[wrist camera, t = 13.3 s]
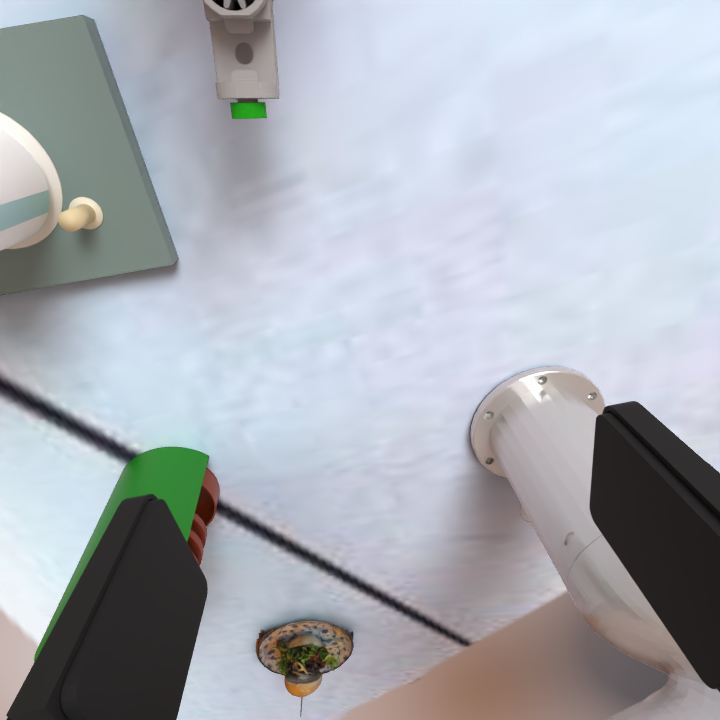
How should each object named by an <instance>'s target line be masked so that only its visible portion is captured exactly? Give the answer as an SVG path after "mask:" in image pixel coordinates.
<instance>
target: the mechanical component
mask: <svg viewBox="0 0 720 720" xmlns="http://www.w3.org/2000/svg"><path fill="white" fill-rule="evenodd" d="M203 1H204V8H205V15H206V19H207V20H208V21H209V22H210V30H211V37H212V44H213V52H214V59H215V66H216V73H217V81H218V83H216V89H217V96H218V99H237V100H238V103H230V106H231V113H232V119H251V118H267V116H266V106H265V102H258V100H257V99H279V82H278V68H277V56H276V44H275V32H274V20H273V0H203Z"/></svg>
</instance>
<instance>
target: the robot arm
mask: <svg viewBox="0 0 720 720" xmlns="http://www.w3.org/2000/svg"><path fill="white" fill-rule="evenodd" d="M470 437H471V444H472V447H473V449H474V452H475V454H476V456H477V458H478V459H479V461H480V463H481V464H482V465H483V466H484V467H485V468H486V469H487V470H489V471H491V472H492V473H494V474H496V475H499V476H501V477H504V478H507V479H508V481H509V482H510V484H511V486H512V488H513V490H514V492H515V493H516V495H517V497H518V499H519V501H520V503H521V513H520V515H521V517H522V518H523V519H524V520H525V521H527V522H531V523H532V525H533V527H534V529H535V531H536V532H537V534H538V536H539V538H540V540H541V542H542V544H543V545H544V547H545V549H546V551H547V553H548V555H549V556H550V558H551V560H552V562H553V564H554V566H555V568H556V569H557V571H558V573H559V575H560V577H561V579H562V581H563V582H564V584H565V586H566V588H567V590H568V592H569V594H570V596H571V597H572V599H573V601H574V603H575V605H576V607H577V608H578V610H579V612H580V613H581V615H582V616H583V618H584V619H585V621H586V622H587V623H588V624H589V625H590V627H591V628H592V629H593V630H594V631H595V632H596V633H597V634H598V635H599V636H600V637H601V638H602V639H604V640H605V641H606V642H608V643H609V644H611V645H612V646H614V647H615V648H616V649H618V650H620V651H622V652H623V653H625V654H627V655H629V656H631V657H633V658H635V659H637V660H639V661H641V662H643V663H645V664H648V665H649V666H652V667H654V668H656V669H658V670H660V671H663V672H665V673H667V674H668V675H669V680H668V682H667V684H666V685H665V686H664V687H663V688H661V689H660V690H658V691H656V692H655V693H653V694H651V695H649V696H648V697H647V698H646V699H645V700H643V701H641V702H639V703H637V704H635V705H633V706H631V707H629V708H627V709H625V710H623V711H621V712H619V713H617V714H615V715H613V716H611V717H609V718H607V719H605V720H720V473H719V472H718V471H717V470H715V469H714V468H713V467H712V466H711V465H710V464H708V463H707V462H706V461H704V460H703V459H702V458H701V457H700V456H699V455H698V454H696V453H695V452H694V451H693V450H692V449H691V448H690V447H688V446H687V445H686V444H685V443H684V442H683V441H682V440H680V439H679V438H678V437H677V436H676V435H675V434H674V433H673V432H671V431H670V430H669V429H668V428H667V427H666V426H665V425H663V424H662V423H661V422H660V421H659V420H658V419H657V418H656V417H654V416H653V415H652V414H651V413H650V412H649V411H648V410H646V409H645V408H644V407H643V406H642V405H641V404H639V403H638V402H635V401H631V402H626V403H621V404H616V405H610V406H607V407H605V404H604V400H603V396H602V395H601V393H600V391H599V389H598V388H597V387H596V386H595V385H594V384H593V383H592V381H591V380H589V379H588V378H587V377H586V376H584V375H583V374H582V373H579V372H577V371H575V370H573V369H569V368H564V367H553V366H547V367H540V368H534V369H531V370H528V371H524V372H521V373H519V374H517V375H515V376H513V377H511V378H509V379H507V380H506V381H504V382H503V383H501V384H500V385H498V386H497V387H496V388H495V389H494V390H493V391H492V392H491V393H489V394H488V395H487V397H486V398H485V399H484V400H483V402H482V403H481V404H480V406H479V408H478V410H477V411H476V413H475V415H474V418H473V421H472V425H471V433H470ZM206 597H207V582H206V578H205V576H204V574H203V572H202V570H201V569H200V567H199V565H198V563H197V561H196V559H195V557H194V555H193V553H192V551H191V549H190V547H189V545H188V544H187V542H186V540H185V538H184V536H183V534H182V532H181V530H180V528H179V526H178V524H177V522H176V521H175V519H174V517H173V515H172V513H171V511H170V509H169V507H168V505H167V503H166V502H165V500H163V499H158V498H157V497H156V496H155V495H154V494H147V495H142V496H137V497H132V498H126V499H124V500H122V502H121V503H120V504H119V506H118V508H117V510H116V512H115V514H114V515H113V517H112V519H111V521H110V523H109V525H108V527H107V528H106V530H105V532H104V534H103V536H102V538H101V540H100V542H99V543H98V545H97V547H96V549H95V551H94V553H93V555H92V556H91V558H90V560H89V562H88V564H87V566H86V568H85V570H84V571H83V573H82V575H81V577H80V579H79V581H78V583H77V584H76V586H75V588H74V590H73V592H72V594H71V596H70V597H69V599H68V601H67V603H66V605H65V607H64V609H63V611H62V612H61V614H60V616H59V618H58V620H57V622H56V624H55V625H54V627H53V629H52V631H51V633H50V635H49V637H48V639H47V640H46V642H45V644H44V646H43V648H42V650H41V652H40V653H39V655H38V657H37V659H36V661H35V663H34V665H33V667H32V668H31V670H30V672H29V674H28V676H27V678H26V680H25V681H24V683H23V685H22V687H21V689H20V691H19V693H18V695H17V697H16V698H15V700H14V702H13V704H12V706H11V708H10V709H9V711H8V713H7V716H8V718H7V720H176V719H177V715H178V711H179V707H180V703H181V699H182V695H183V691H184V687H185V683H186V679H187V674H188V670H189V666H190V662H191V658H192V654H193V650H194V646H195V642H196V638H197V634H198V630H199V626H200V622H201V618H202V614H203V610H204V606H205V601H206Z"/></svg>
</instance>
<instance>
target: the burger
mask: <svg viewBox="0 0 720 720" xmlns="http://www.w3.org/2000/svg"><path fill="white" fill-rule="evenodd" d="M263 633H264V630H261V633H259V634H260V635H259V639H257V643H256V653H257V656H258V659H259V661H260V662H261V663H262V664H263V665H264V667H266V668H267V669H269V670H270V671H272V672H274V673H277V674H281V675H284V676H285V686H286V689H287V690H288V692H289V693H290V694H292V695H294V696H298V697H305V696H307V695H309V694H311V693H312V692H314V691H315V690H316V689H317V688H318V686H319V685H320V683H321V681H322V674H323V673H327V672H329V671H331V670H333V671H334V670H335V669H336V668H338V667H340V666H341V665H342V664H343V663H344V662H345V661H346V660H347V659H348V658H349V657H350V655H351V654H352V650H353V647H354V645H353V644H354V643H353V632H352V635H351V634H350V633H349V632H348V630H344V629H341V628H339V627H337V626H335V625H332V624H330V623H326V622H320V621H310V620H309V621H300V622H296V623H290V624H287V625H285V626H283V627H280V628H277V629H274V630H273V629H272V630H271V631H269V632H267V633H266V634H265V636H263V637H262V635H263ZM301 711H302V700H301ZM300 715H301V714H300ZM300 717H301V716H300Z"/></svg>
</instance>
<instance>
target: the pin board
mask: <svg viewBox="0 0 720 720" xmlns="http://www.w3.org/2000/svg"><path fill="white" fill-rule="evenodd" d="M0 129H1V130H3V131H5V132H6V133H8V134H9V135H11V136H12V137H13V138H15V139H16V140H17V141H18V142H19V143H20V144H21V145H22V146H23V147H25V149H26V150H27V151H28V152H29V153H30V154H31V155H32V157H33V158H34V159H35V161H36V162H37V164H38V165H39V167H40V169H41V171H42V173H43V175H44V177H45V180H46V183H47V186H48V191H49V200H50V203H49V211H48V215H47V218H46V220H45V222H44V224H43V226H42V227H41V228H40V229H39V230H38V231H37V232H36V233H35V234H34V235H32V236H31V237H29V238H27V239H25V240H23V241H21V242H19V243H16V244H14V245H12V246H10V247H8V248H6V249H4V250H1V251H0V295H4V294H10V293H15V292H21V291H27V290H33V289H38V288H44V287H50V286H55V285H61V284H67V283H72V282H78V281H84V280H89V279H95V278H101V277H106V276H112V275H118V274H124V273H129V272H135V271H141V270H146V269H152V268H158V267H163V266H169V265H173V264H174V263H175V262H176V261H177V260H178V259H179V258H178V255H177V253H176V250H175V247H174V244H173V241H172V239H171V236H170V233H169V230H168V227H167V224H166V222H165V219H164V216H163V213H162V210H161V207H160V205H159V202H158V199H157V196H156V193H155V191H154V188H153V185H152V182H151V179H150V176H149V174H148V171H147V168H146V165H145V162H144V160H143V157H142V154H141V151H140V148H139V145H138V143H137V140H136V137H135V134H134V131H133V128H132V126H131V123H130V120H129V117H128V114H127V112H126V109H125V106H124V103H123V100H122V97H121V95H120V92H119V89H118V86H117V83H116V81H115V78H114V75H113V72H112V69H111V66H110V64H109V61H108V58H107V55H106V52H105V49H104V47H103V44H102V41H101V38H100V35H99V33H98V30H97V27H96V24H95V21H94V19H91V18H89V17H86V16H84V15H80V16H73V17H67V18H61V19H55V20H49V21H43V22H37V23H31V24H25V25H19V26H13V27H7V28H1V29H0Z"/></svg>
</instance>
